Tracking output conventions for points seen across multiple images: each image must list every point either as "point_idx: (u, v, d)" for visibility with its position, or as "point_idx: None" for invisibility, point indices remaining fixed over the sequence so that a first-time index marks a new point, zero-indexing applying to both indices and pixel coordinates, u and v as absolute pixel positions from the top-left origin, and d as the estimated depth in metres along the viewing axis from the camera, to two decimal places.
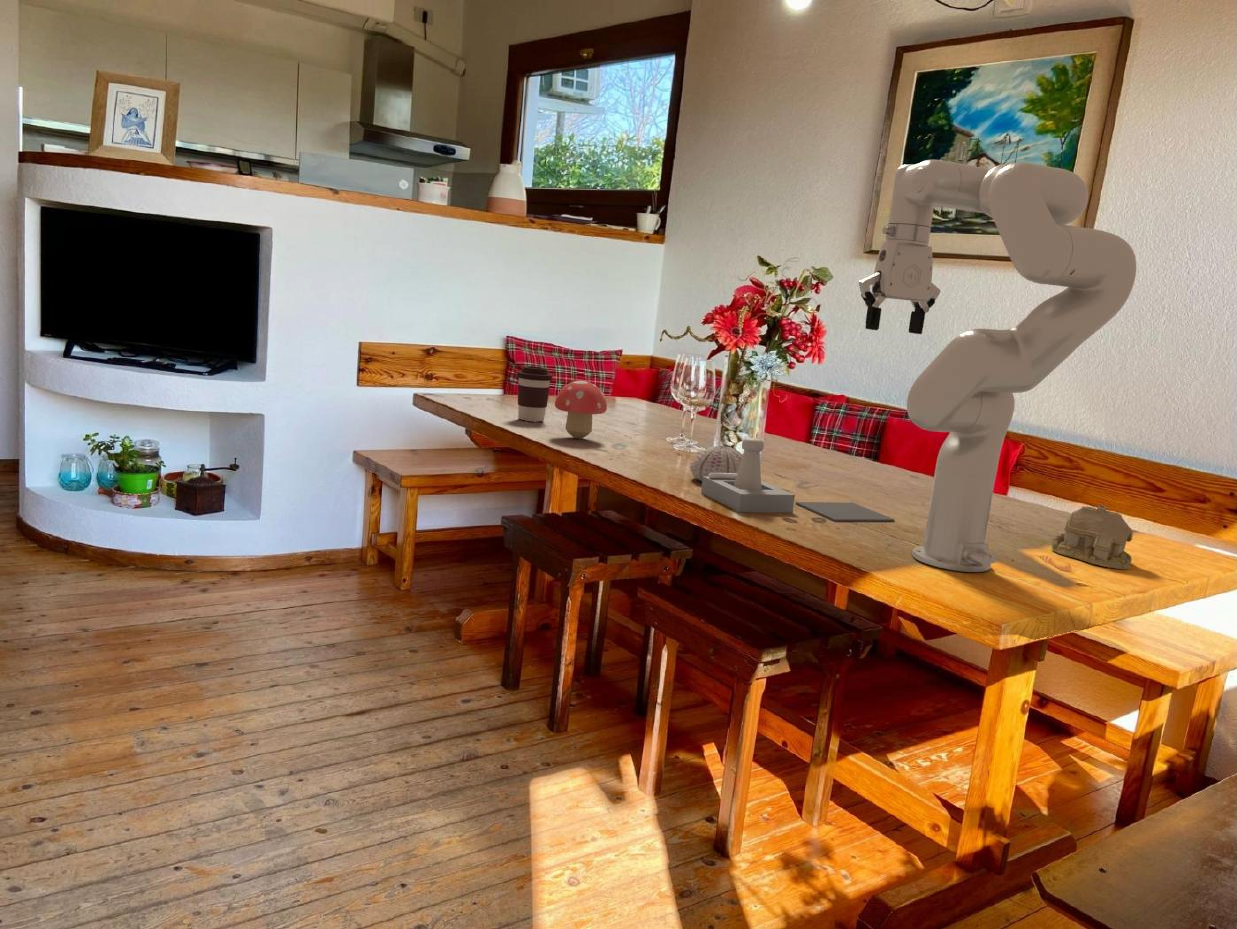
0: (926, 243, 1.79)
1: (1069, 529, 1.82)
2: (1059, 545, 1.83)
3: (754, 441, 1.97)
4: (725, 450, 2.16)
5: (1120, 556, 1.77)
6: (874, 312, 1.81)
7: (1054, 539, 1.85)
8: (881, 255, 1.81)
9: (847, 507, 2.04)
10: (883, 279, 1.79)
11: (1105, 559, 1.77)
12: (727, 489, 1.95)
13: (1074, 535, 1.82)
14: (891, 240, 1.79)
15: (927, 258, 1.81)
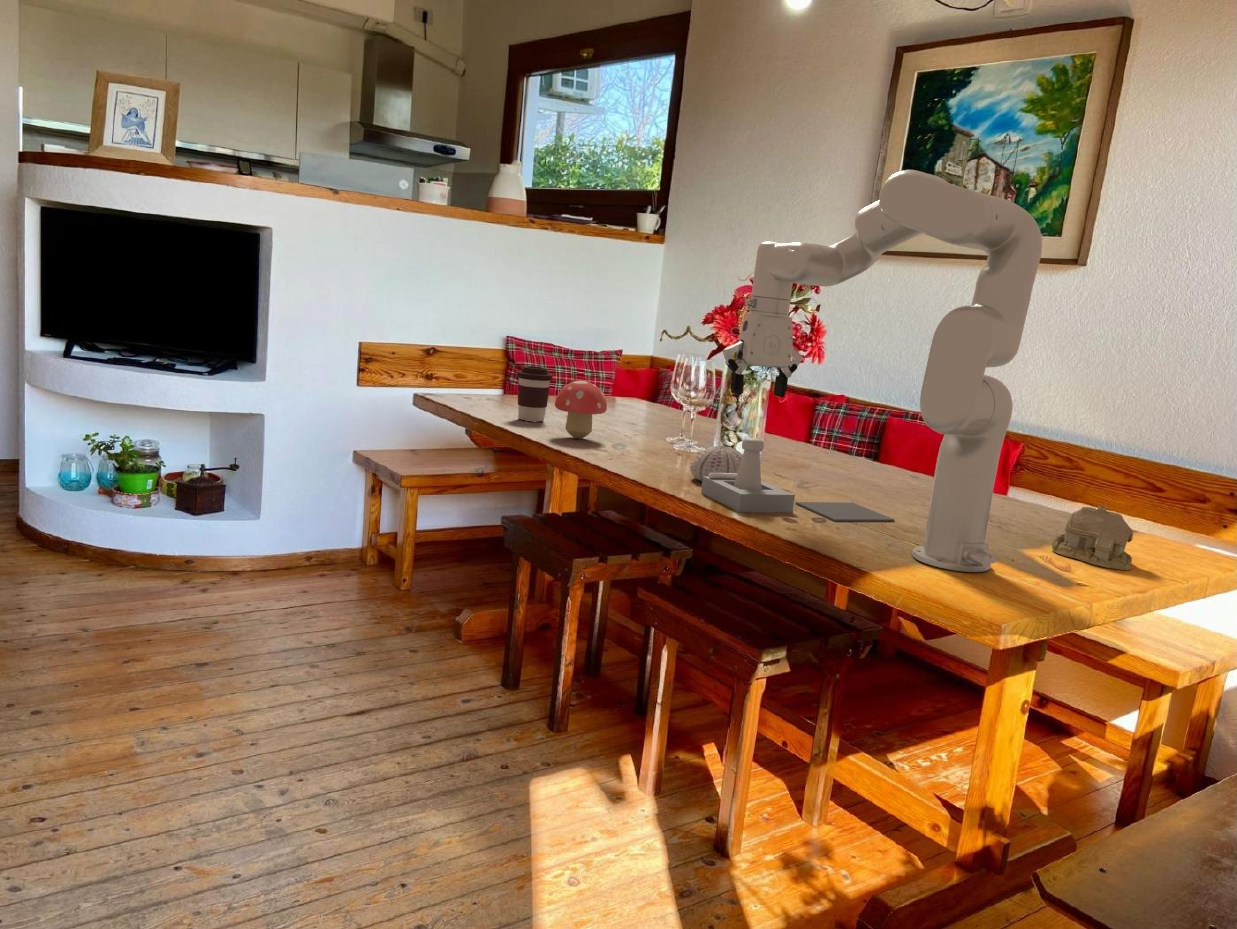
0: (785, 315, 1.92)
1: (1070, 530, 1.81)
2: (1060, 546, 1.83)
3: (754, 441, 1.97)
4: (725, 450, 2.16)
5: (1121, 557, 1.77)
6: (737, 378, 1.94)
7: (1054, 540, 1.84)
8: (744, 325, 1.94)
9: (847, 507, 2.04)
10: (745, 348, 1.92)
11: (1106, 560, 1.76)
12: (727, 489, 1.95)
13: (1075, 536, 1.81)
14: (753, 311, 1.92)
15: (787, 328, 1.94)
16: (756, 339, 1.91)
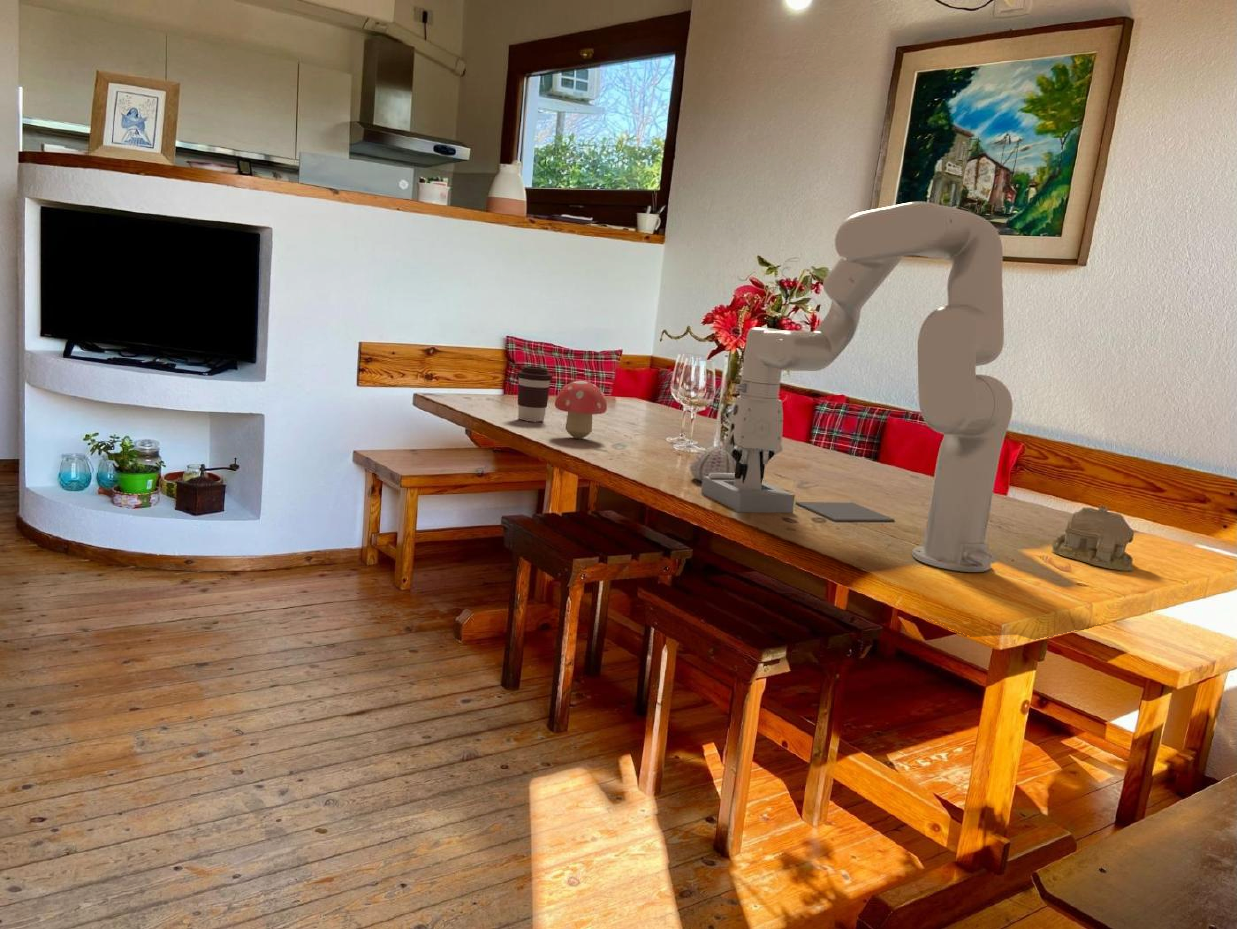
0: (775, 399, 1.95)
1: (1071, 531, 1.81)
2: (1060, 547, 1.82)
3: None
4: (725, 450, 2.16)
5: (1122, 557, 1.77)
6: (741, 468, 1.98)
7: (1055, 541, 1.83)
8: (735, 408, 1.97)
9: (847, 507, 2.04)
10: (736, 432, 1.95)
11: (1108, 561, 1.76)
12: (727, 489, 1.95)
13: (1076, 537, 1.81)
14: (743, 396, 1.95)
15: (778, 411, 1.96)
16: (747, 423, 1.94)
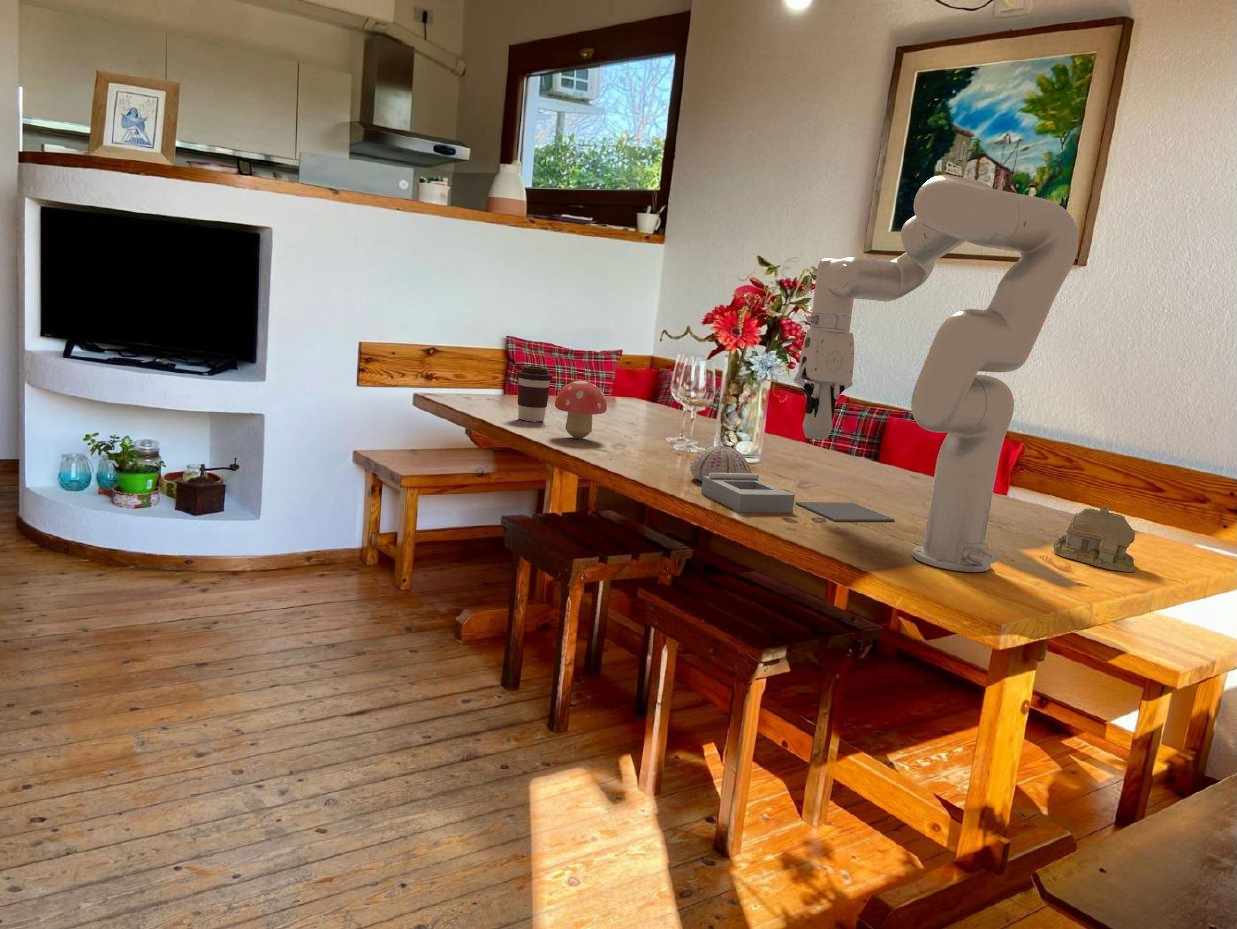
0: (847, 331, 1.92)
1: (1073, 532, 1.80)
2: (1062, 548, 1.81)
3: None
4: (725, 450, 2.16)
5: (1125, 558, 1.76)
6: (813, 402, 1.95)
7: (1056, 542, 1.82)
8: (806, 341, 1.94)
9: (847, 507, 2.04)
10: (808, 364, 1.92)
11: (1111, 562, 1.75)
12: (727, 489, 1.95)
13: (1078, 538, 1.80)
14: (815, 328, 1.92)
15: (849, 344, 1.94)
16: (819, 355, 1.91)
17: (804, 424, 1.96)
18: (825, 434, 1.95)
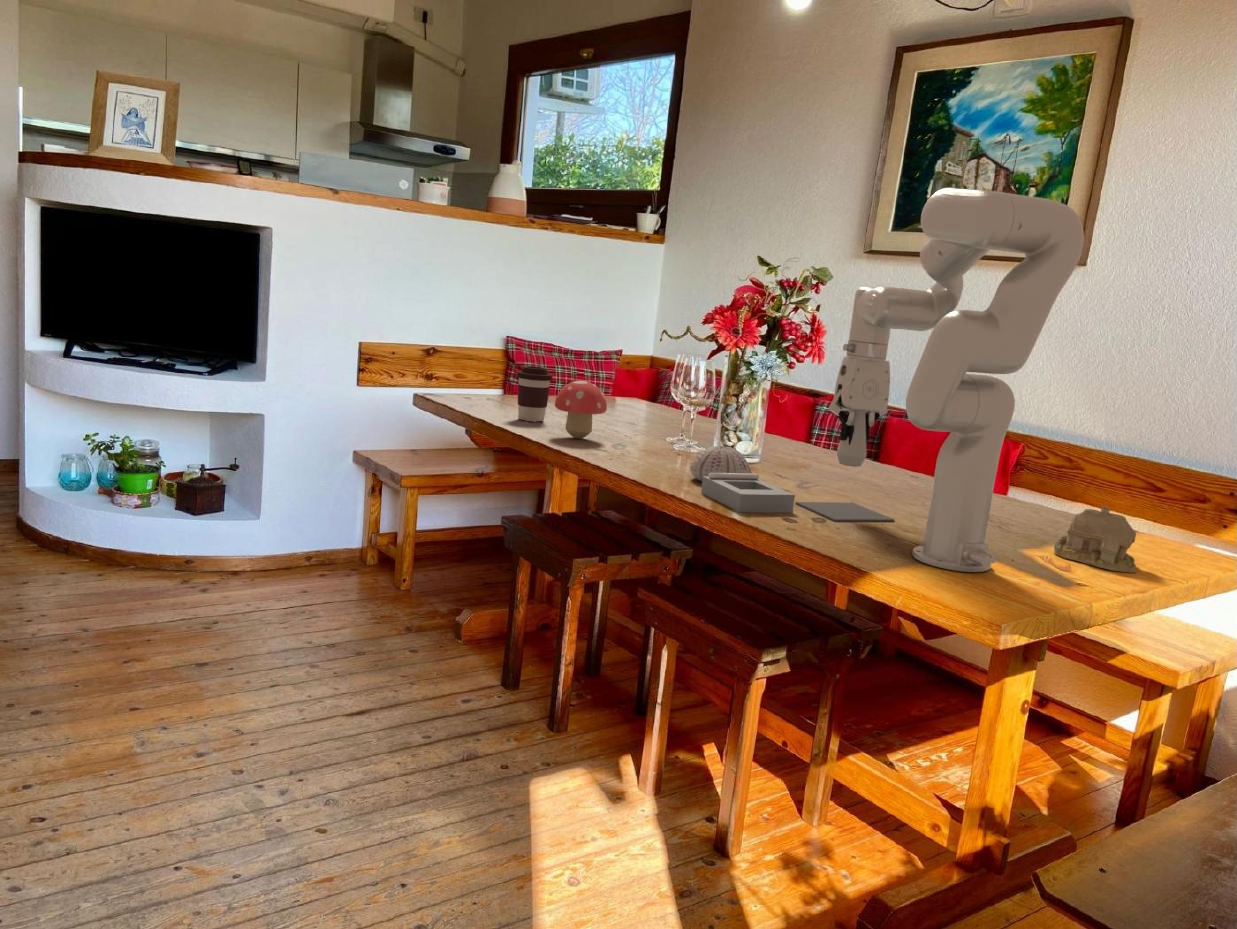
0: (883, 359, 1.93)
1: (1074, 533, 1.79)
2: (1063, 549, 1.80)
3: None
4: (725, 450, 2.16)
5: (1126, 559, 1.76)
6: (847, 429, 1.96)
7: (1057, 543, 1.82)
8: (842, 369, 1.95)
9: (847, 507, 2.04)
10: (844, 392, 1.93)
11: (1112, 563, 1.75)
12: (727, 489, 1.95)
13: (1079, 539, 1.79)
14: (851, 356, 1.93)
15: (885, 372, 1.94)
16: (855, 384, 1.92)
17: (838, 451, 1.98)
18: (859, 461, 1.97)
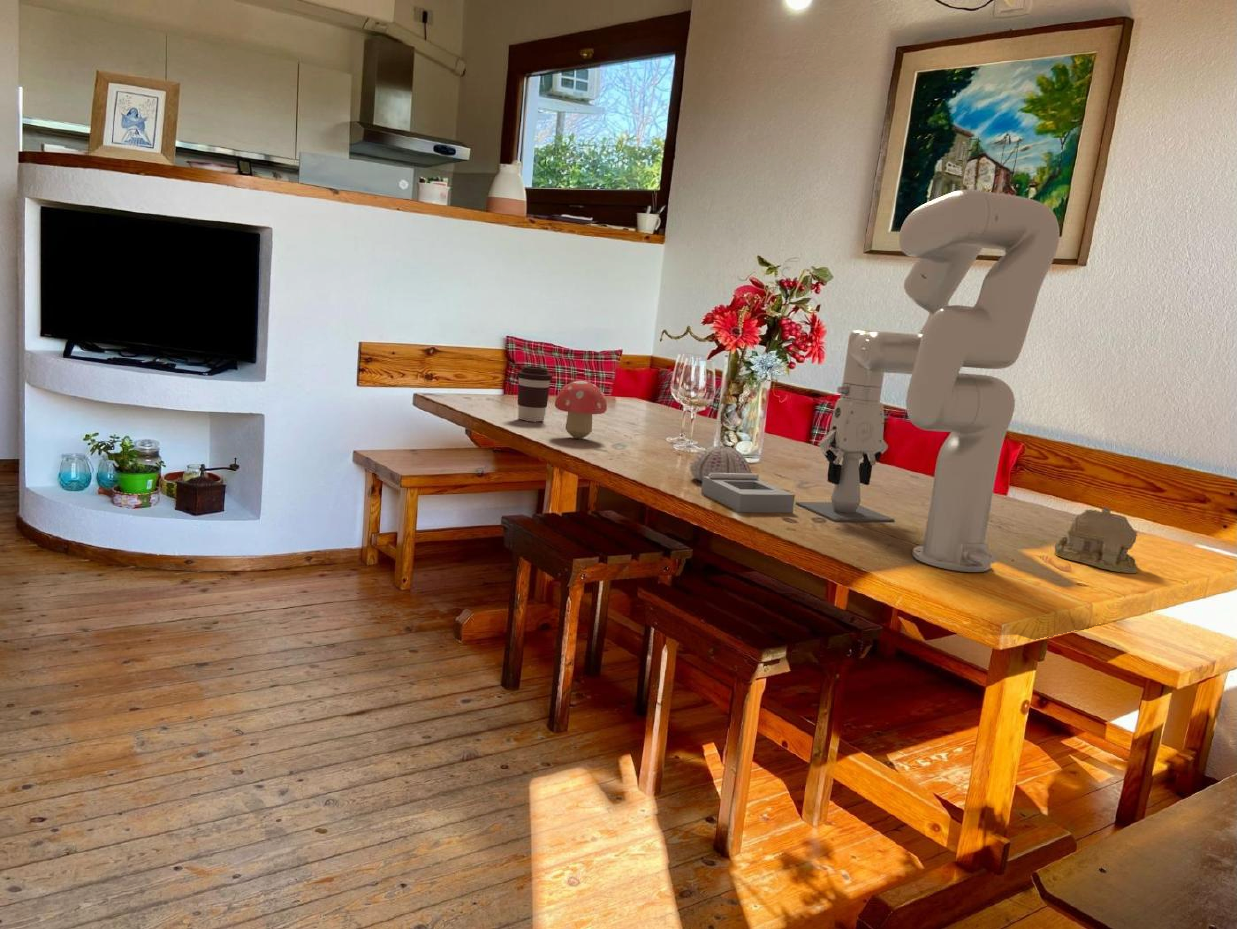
0: (877, 402, 1.94)
1: (1075, 533, 1.78)
2: (1064, 550, 1.80)
3: None
4: (725, 450, 2.16)
5: (1127, 560, 1.75)
6: (835, 468, 1.97)
7: (1058, 544, 1.81)
8: (836, 411, 1.96)
9: None
10: (838, 435, 1.94)
11: (1114, 563, 1.74)
12: (727, 489, 1.95)
13: (1080, 540, 1.79)
14: (845, 399, 1.95)
15: (879, 414, 1.96)
16: (849, 426, 1.94)
17: (832, 497, 1.99)
18: (853, 507, 1.98)
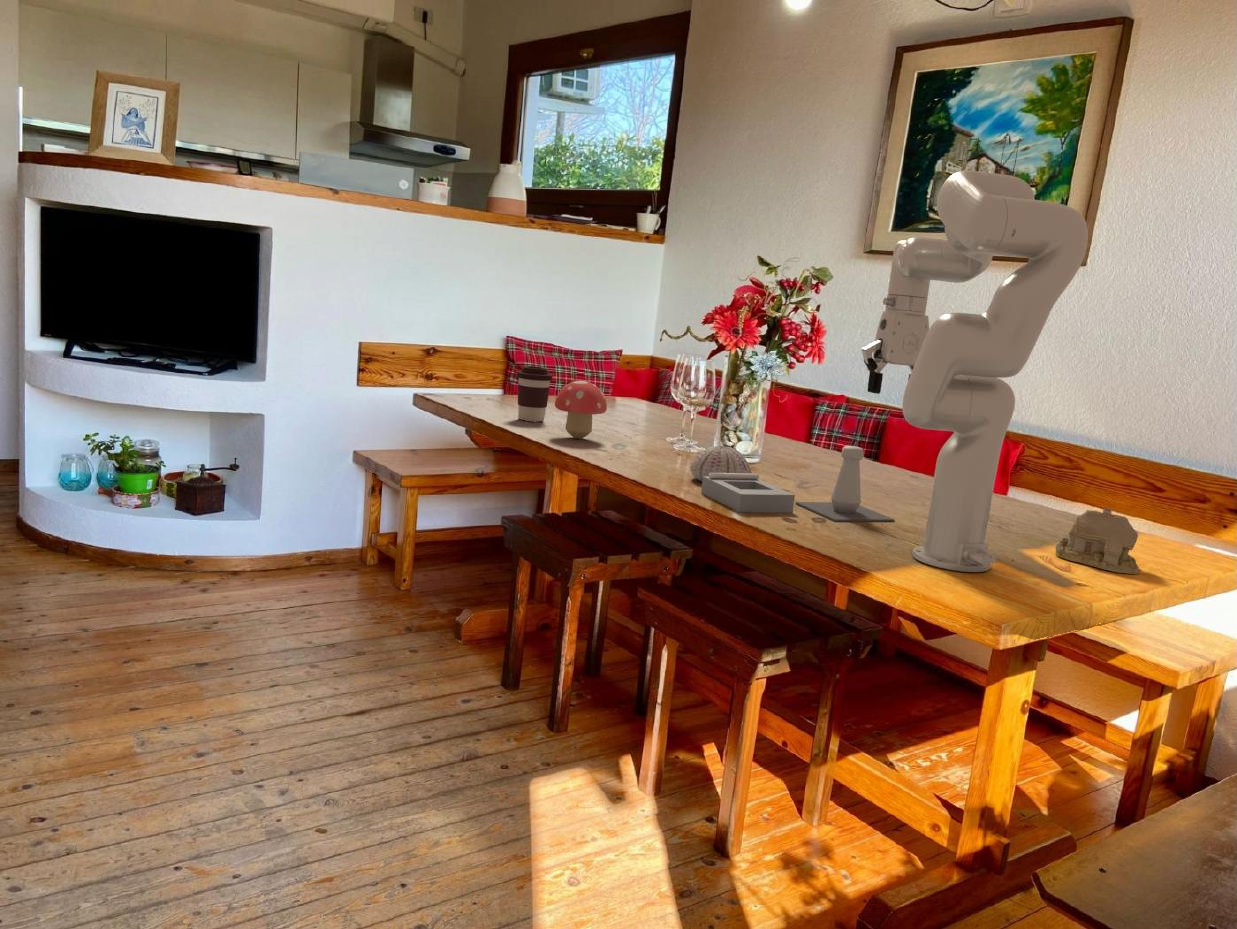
0: (923, 313, 1.92)
1: (1076, 534, 1.78)
2: (1065, 551, 1.79)
3: (855, 449, 1.96)
4: (725, 450, 2.16)
5: (1129, 560, 1.75)
6: (876, 377, 1.94)
7: (1059, 545, 1.81)
8: (882, 324, 1.94)
9: None
10: (884, 346, 1.92)
11: (1116, 564, 1.74)
12: (727, 489, 1.95)
13: (1081, 541, 1.78)
14: (891, 310, 1.92)
15: (924, 326, 1.94)
16: (896, 337, 1.91)
17: (833, 497, 1.99)
18: (853, 508, 1.98)
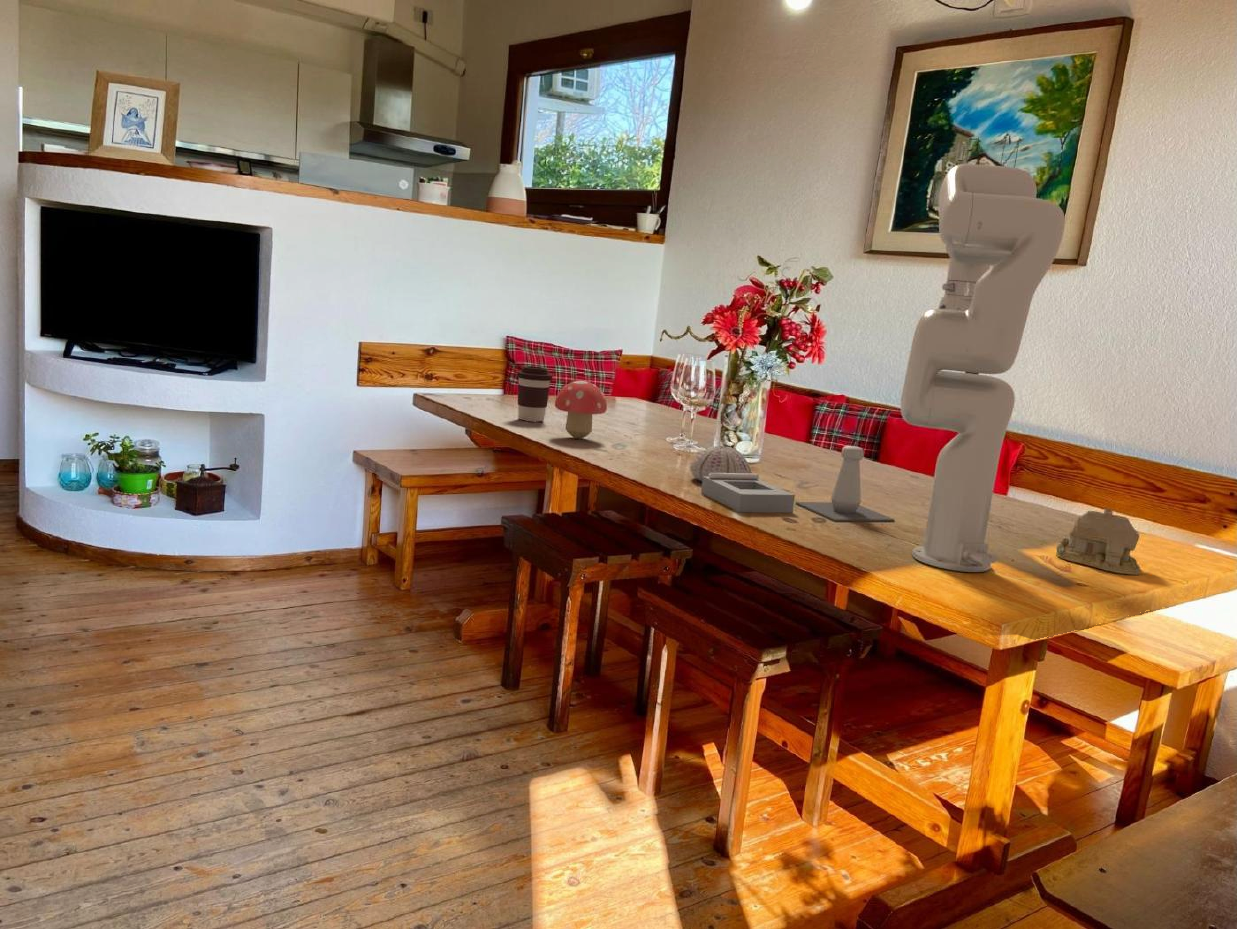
0: None
1: (1077, 535, 1.77)
2: (1067, 551, 1.78)
3: (855, 449, 1.96)
4: (725, 450, 2.16)
5: (1130, 561, 1.74)
6: None
7: (1060, 546, 1.80)
8: None
9: None
10: None
11: (1117, 565, 1.73)
12: (727, 489, 1.95)
13: (1082, 541, 1.78)
14: (950, 296, 1.94)
15: None
16: None
17: (833, 497, 1.99)
18: (853, 508, 1.98)
